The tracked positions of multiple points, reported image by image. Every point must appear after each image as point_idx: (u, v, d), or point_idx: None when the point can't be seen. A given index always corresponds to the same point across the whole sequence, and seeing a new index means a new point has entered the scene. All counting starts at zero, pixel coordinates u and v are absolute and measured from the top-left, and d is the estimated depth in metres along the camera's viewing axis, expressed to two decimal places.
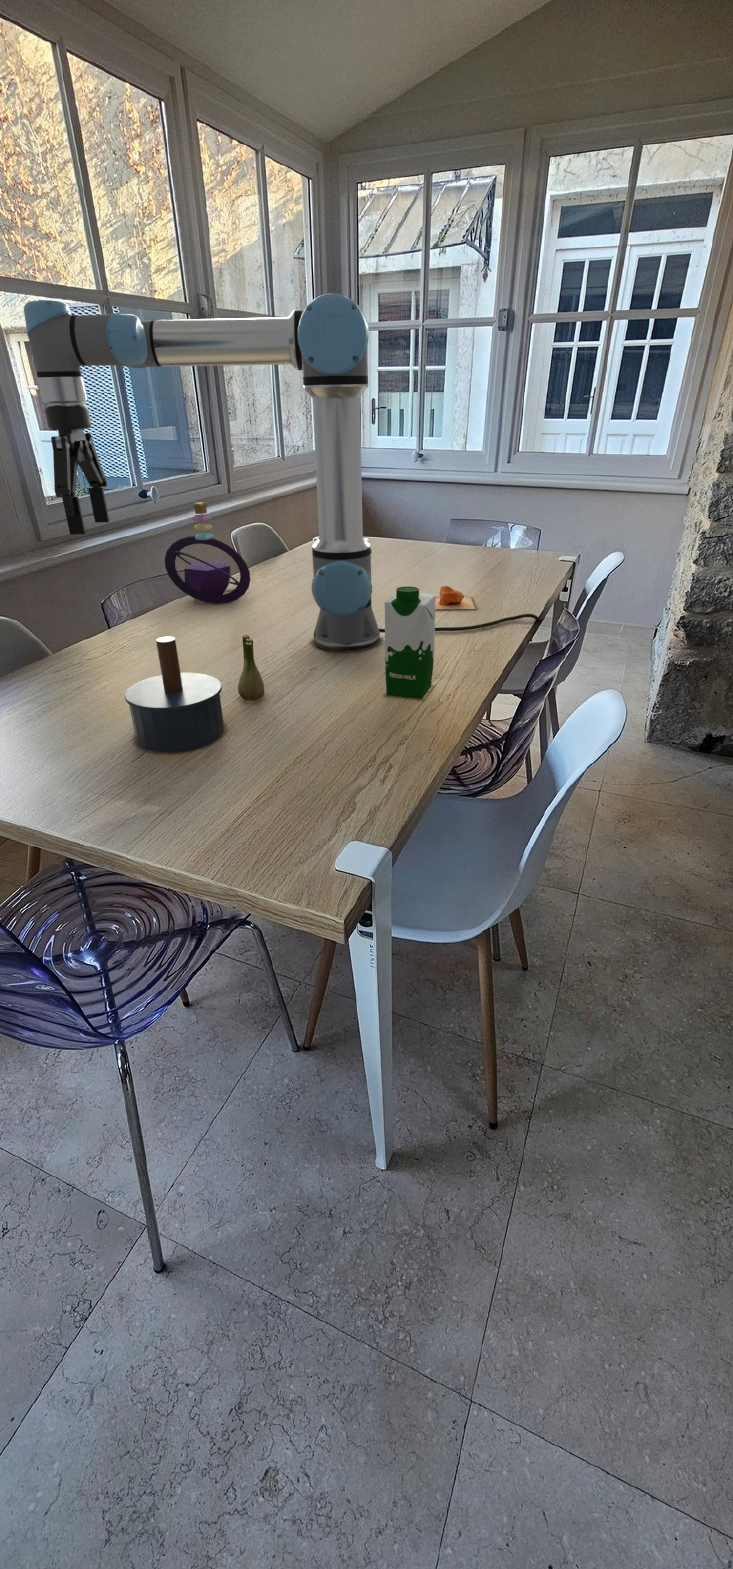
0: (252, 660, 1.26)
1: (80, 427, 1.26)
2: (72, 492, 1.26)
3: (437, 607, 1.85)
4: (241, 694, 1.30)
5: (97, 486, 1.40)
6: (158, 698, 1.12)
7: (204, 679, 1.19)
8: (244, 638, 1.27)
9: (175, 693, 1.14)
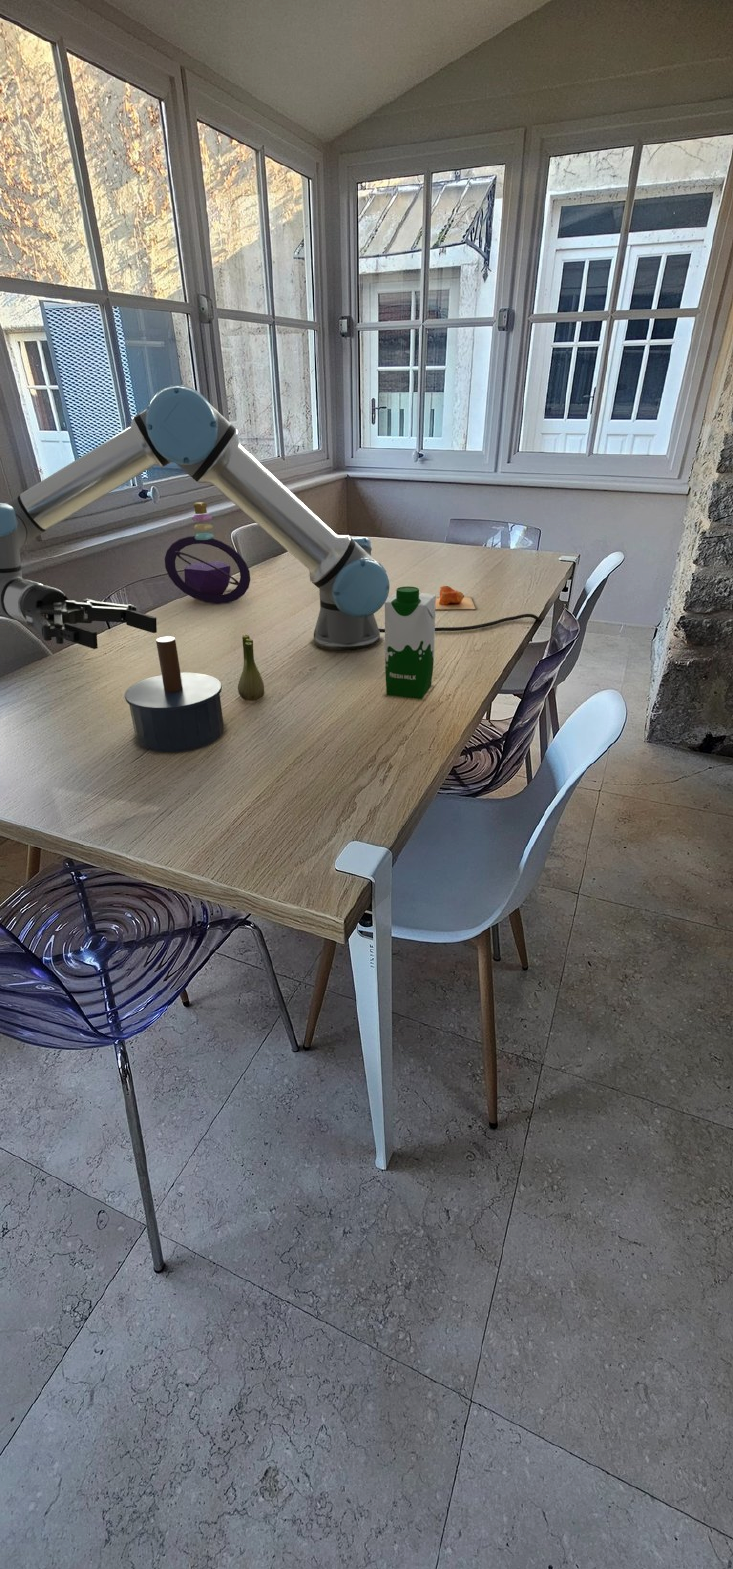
0: (252, 660, 1.26)
1: (40, 596, 1.22)
2: (55, 624, 1.14)
3: (437, 607, 1.85)
4: (241, 694, 1.30)
5: None
6: (158, 698, 1.12)
7: (204, 679, 1.19)
8: (244, 638, 1.27)
9: (175, 693, 1.14)
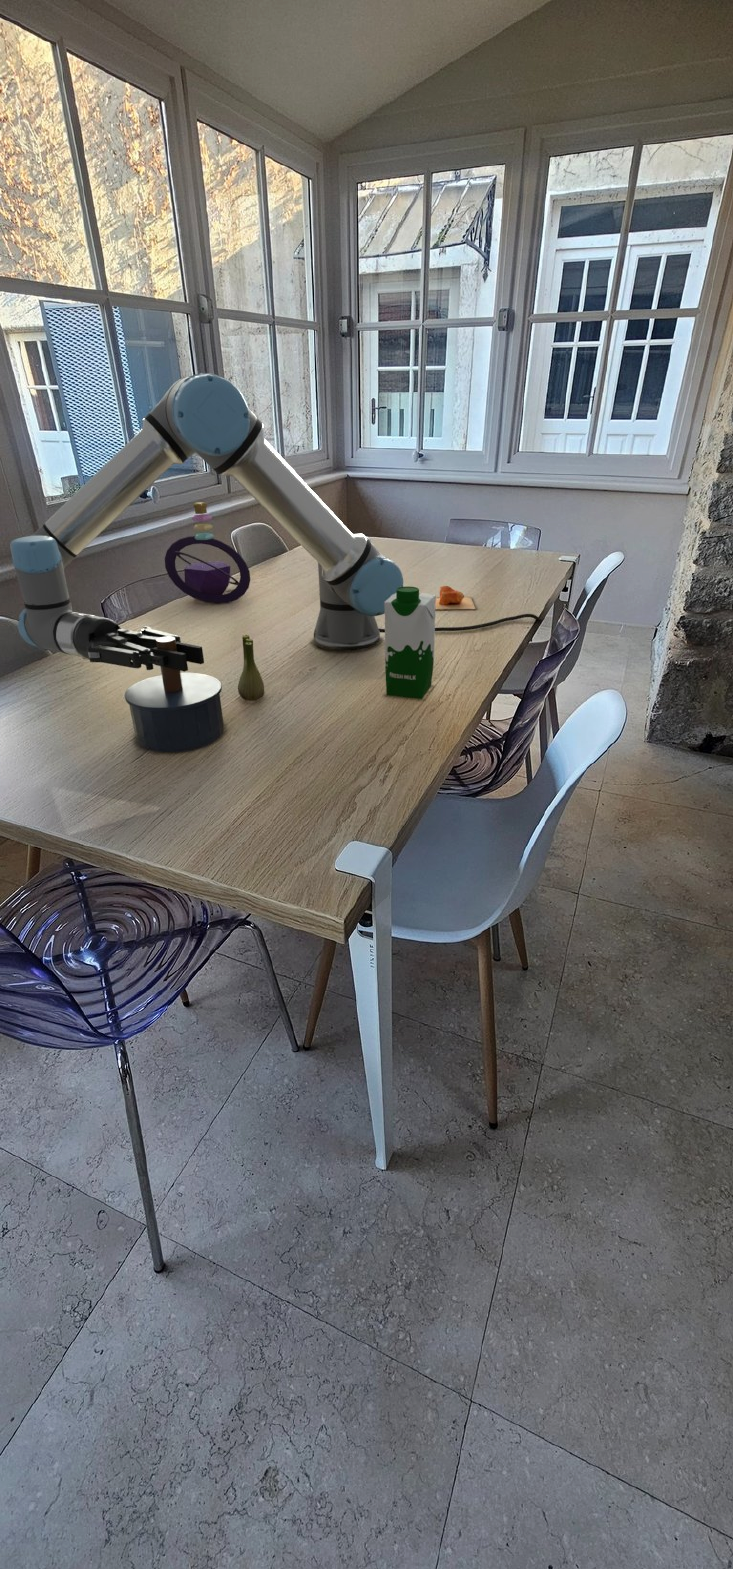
0: (252, 660, 1.26)
1: (91, 628, 1.16)
2: (144, 651, 1.10)
3: (437, 607, 1.85)
4: (241, 694, 1.30)
5: None
6: (158, 698, 1.12)
7: (204, 679, 1.19)
8: (244, 638, 1.27)
9: (175, 693, 1.14)
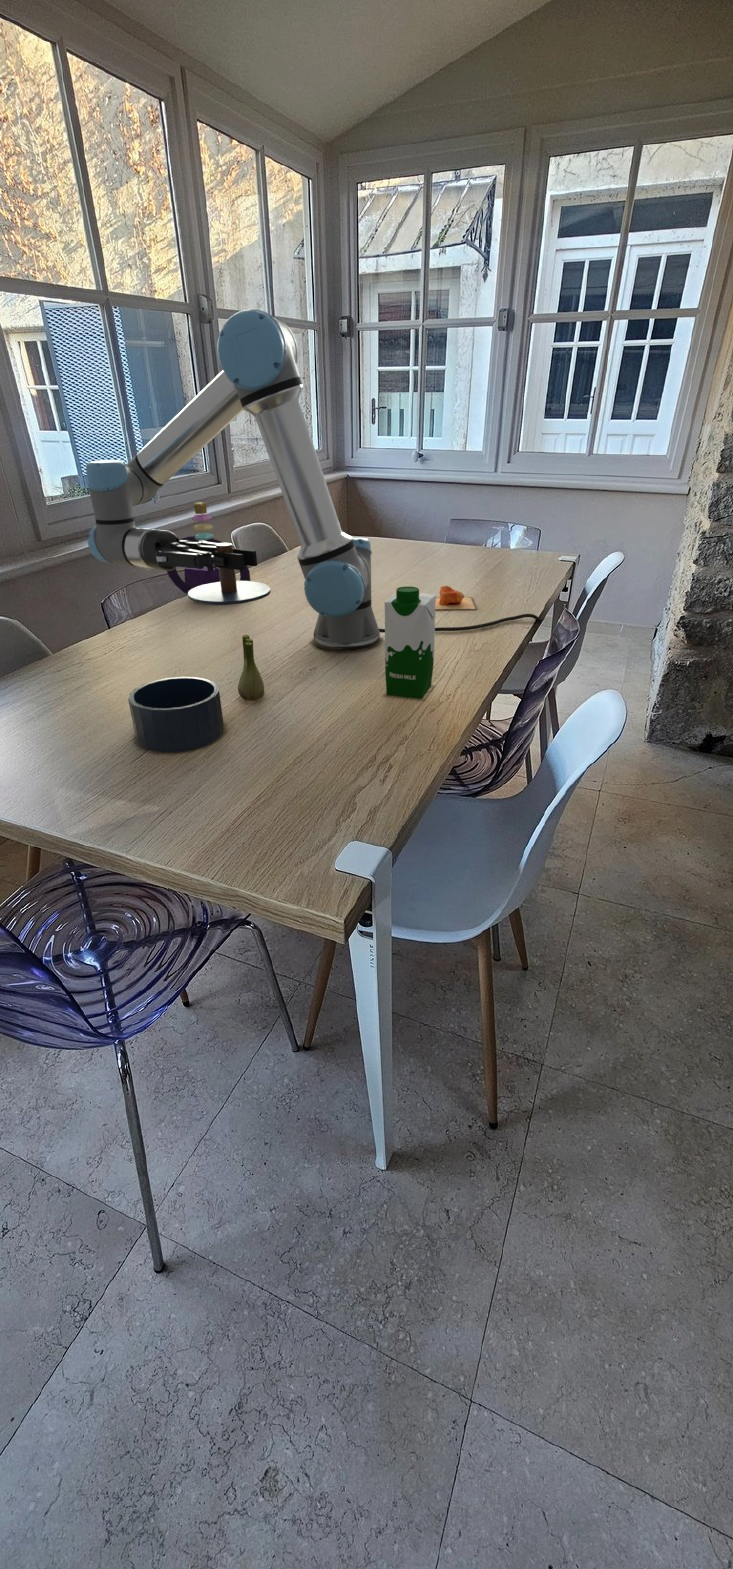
0: (252, 660, 1.26)
1: (157, 538, 1.33)
2: (206, 553, 1.28)
3: (437, 607, 1.85)
4: (241, 694, 1.30)
5: None
6: (218, 596, 1.30)
7: (254, 584, 1.37)
8: (244, 638, 1.27)
9: (231, 593, 1.31)
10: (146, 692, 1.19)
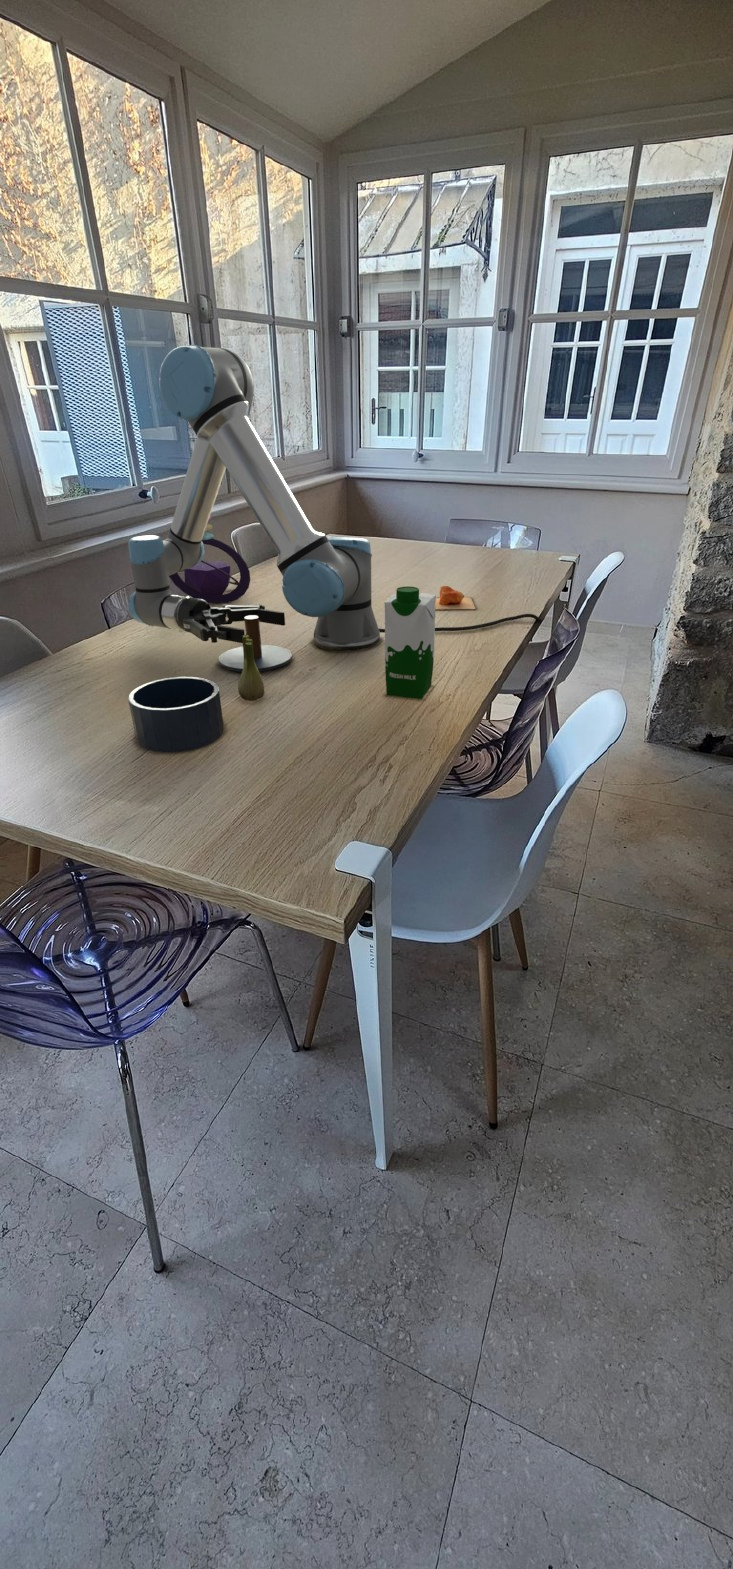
0: (252, 660, 1.26)
1: (191, 606, 1.50)
2: (210, 627, 1.42)
3: (437, 607, 1.85)
4: (241, 694, 1.30)
5: None
6: None
7: (276, 649, 1.54)
8: (244, 638, 1.27)
9: (257, 659, 1.48)
10: (146, 692, 1.19)
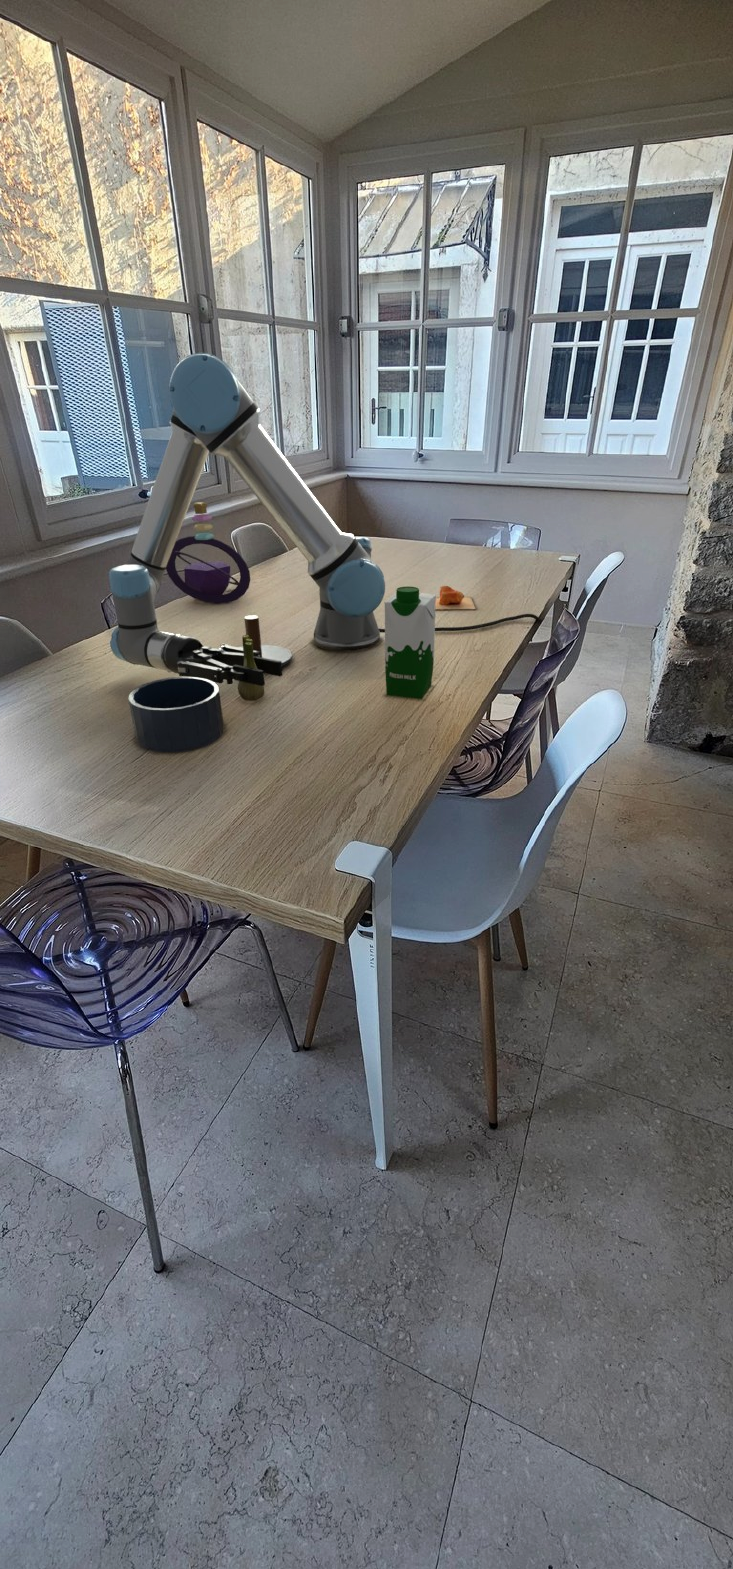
0: (252, 660, 1.26)
1: (180, 646, 1.33)
2: (225, 668, 1.27)
3: (437, 607, 1.85)
4: (241, 694, 1.30)
5: None
6: None
7: (276, 649, 1.54)
8: (244, 638, 1.27)
9: None
10: (146, 692, 1.19)
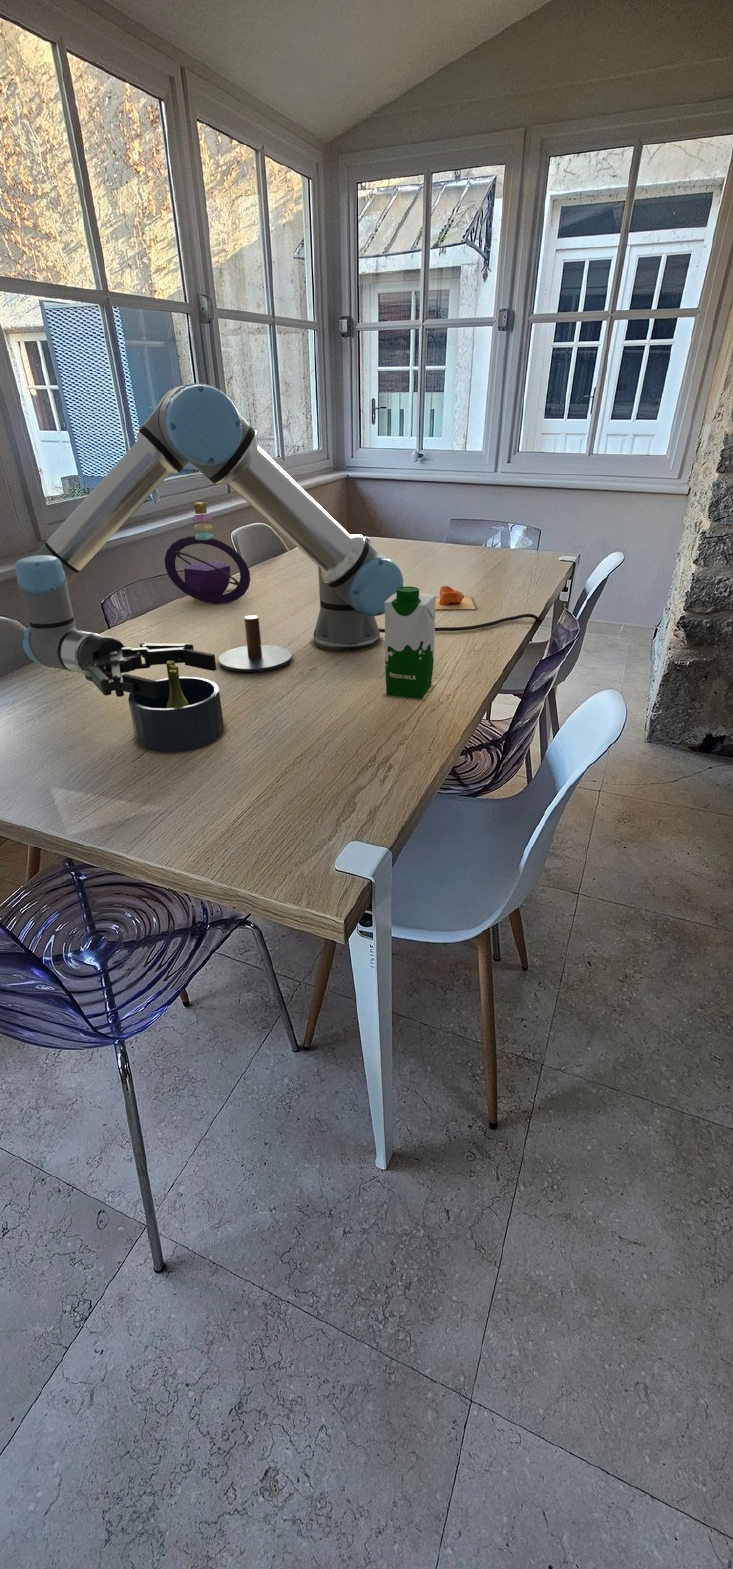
0: (178, 689, 1.13)
1: (95, 647, 1.17)
2: (113, 677, 1.09)
3: (437, 607, 1.85)
4: None
5: None
6: (245, 662, 1.47)
7: (276, 649, 1.54)
8: (168, 664, 1.14)
9: (257, 659, 1.48)
10: None
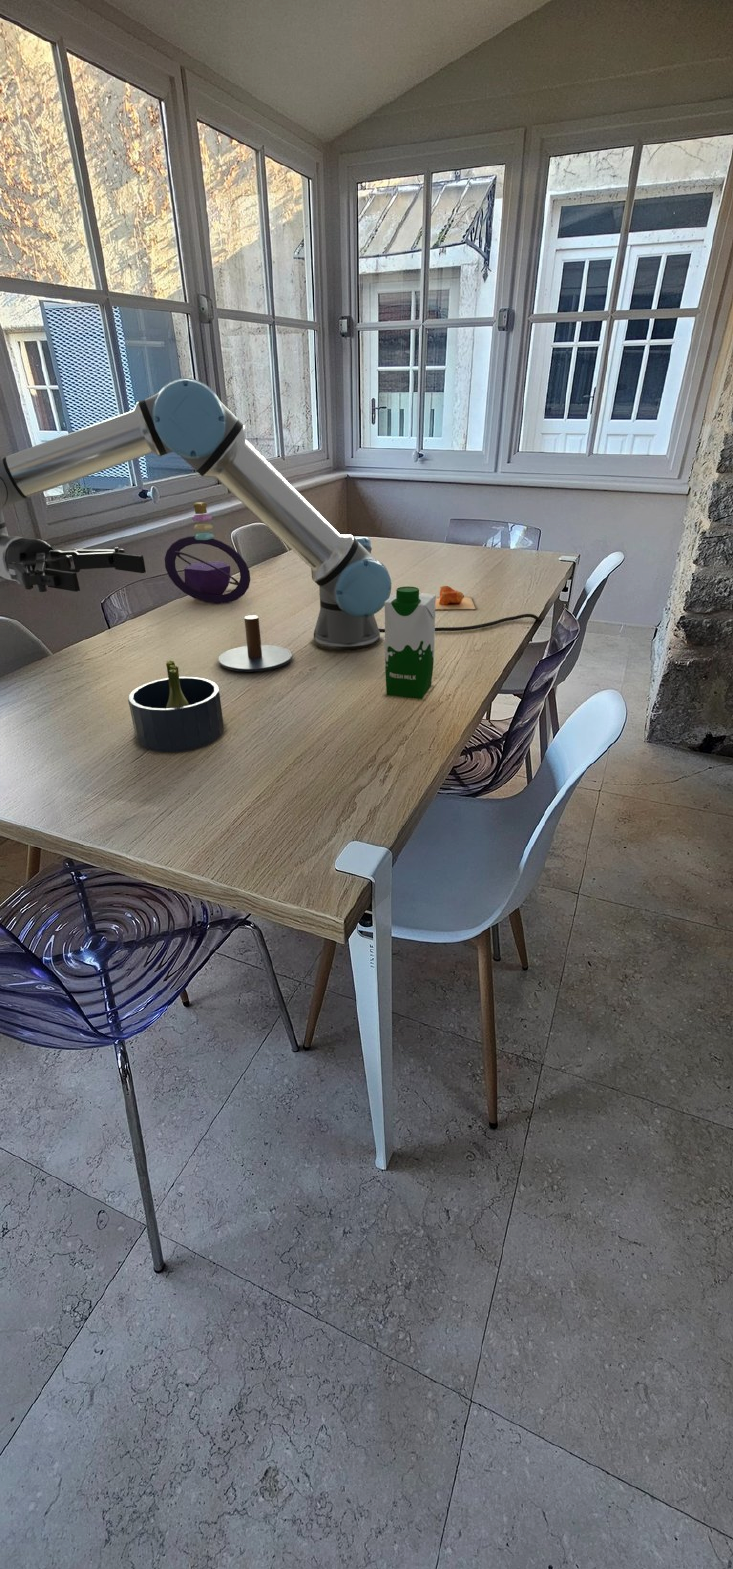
0: (178, 689, 1.13)
1: (22, 548, 1.16)
2: (34, 571, 1.08)
3: (437, 607, 1.85)
4: None
5: None
6: (245, 662, 1.47)
7: (276, 649, 1.54)
8: (168, 664, 1.14)
9: (257, 659, 1.48)
10: (146, 692, 1.19)
